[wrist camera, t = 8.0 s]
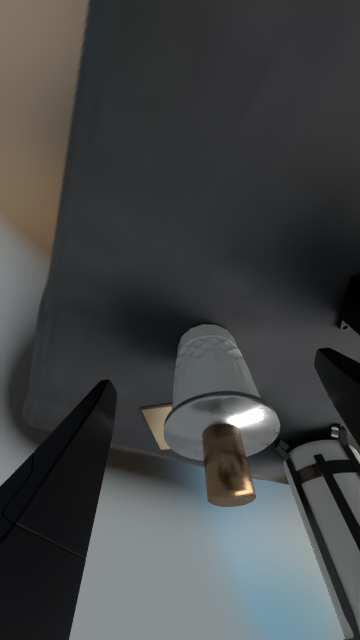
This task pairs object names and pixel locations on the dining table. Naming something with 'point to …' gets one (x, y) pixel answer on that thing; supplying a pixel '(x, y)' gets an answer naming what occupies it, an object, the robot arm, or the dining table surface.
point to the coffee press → (331, 516)
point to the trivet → (157, 422)
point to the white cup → (209, 364)
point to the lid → (223, 440)
